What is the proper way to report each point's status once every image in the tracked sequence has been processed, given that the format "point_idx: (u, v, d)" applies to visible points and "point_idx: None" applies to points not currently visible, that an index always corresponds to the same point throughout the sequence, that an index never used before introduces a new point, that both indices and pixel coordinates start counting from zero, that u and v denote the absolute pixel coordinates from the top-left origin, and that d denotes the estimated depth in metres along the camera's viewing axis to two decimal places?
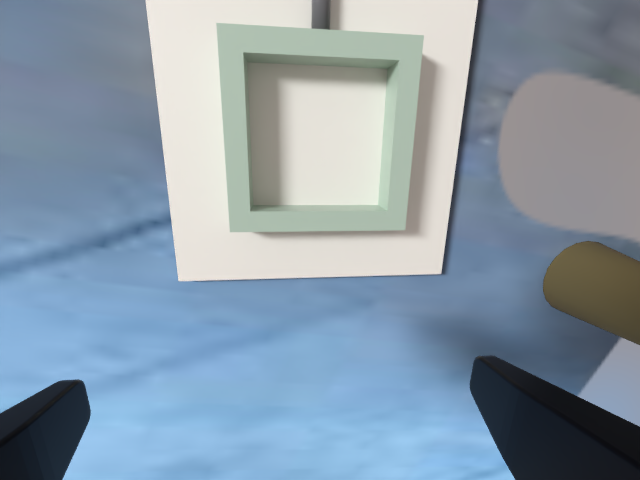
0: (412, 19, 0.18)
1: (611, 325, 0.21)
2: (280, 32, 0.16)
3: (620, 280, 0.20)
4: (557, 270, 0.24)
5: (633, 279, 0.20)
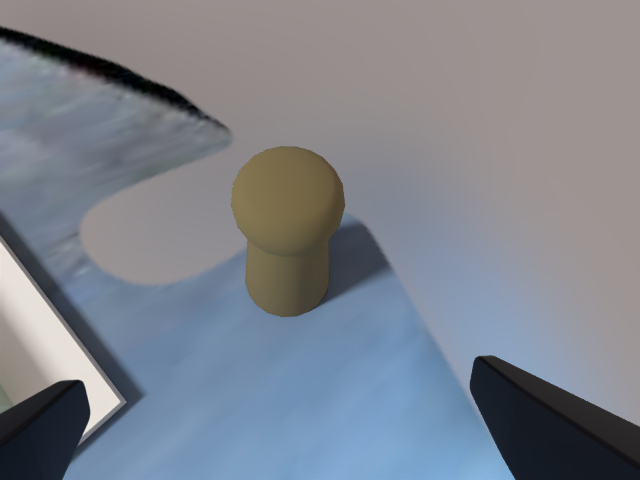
0: None
1: (278, 281, 0.18)
2: None
3: None
4: (248, 289, 0.21)
5: None
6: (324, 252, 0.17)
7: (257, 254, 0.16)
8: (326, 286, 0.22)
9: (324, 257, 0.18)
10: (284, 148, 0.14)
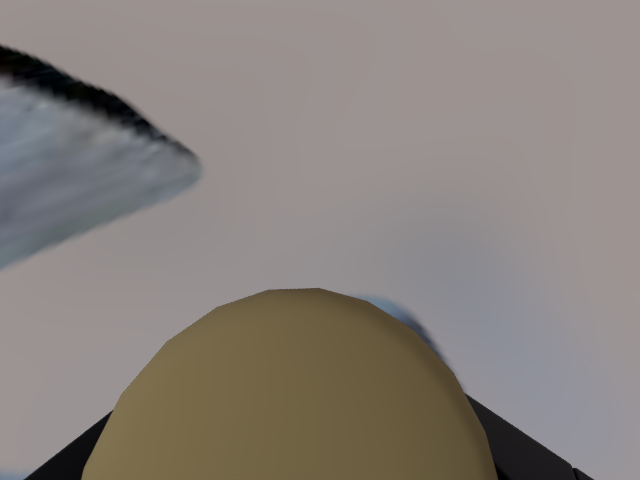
0: None
1: None
2: None
3: None
4: None
5: None
6: None
7: None
8: None
9: None
10: (281, 315, 0.04)
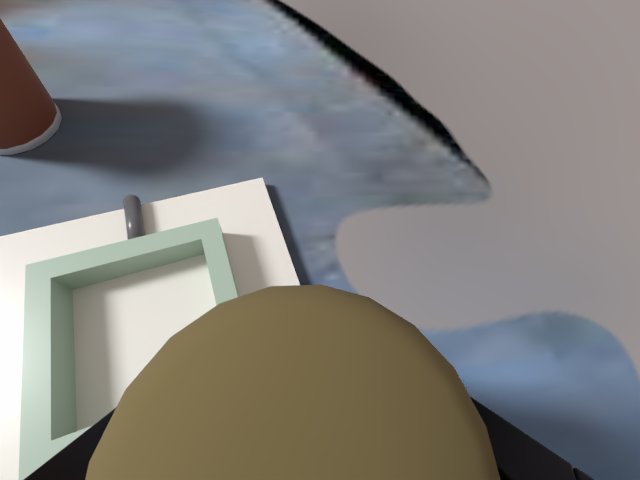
0: (219, 216, 0.22)
1: None
2: (87, 253, 0.18)
3: None
4: None
5: None
6: None
7: None
8: None
9: None
10: (284, 311, 0.04)
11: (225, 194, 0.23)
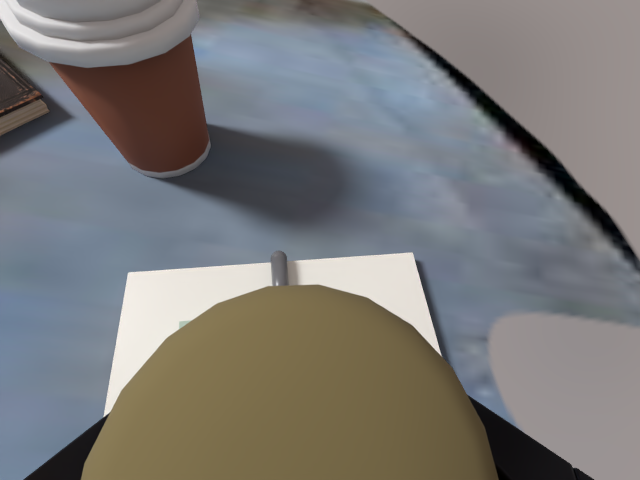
0: (365, 291, 0.20)
1: None
2: None
3: None
4: None
5: None
6: None
7: None
8: None
9: None
10: (281, 311, 0.04)
11: (372, 265, 0.21)
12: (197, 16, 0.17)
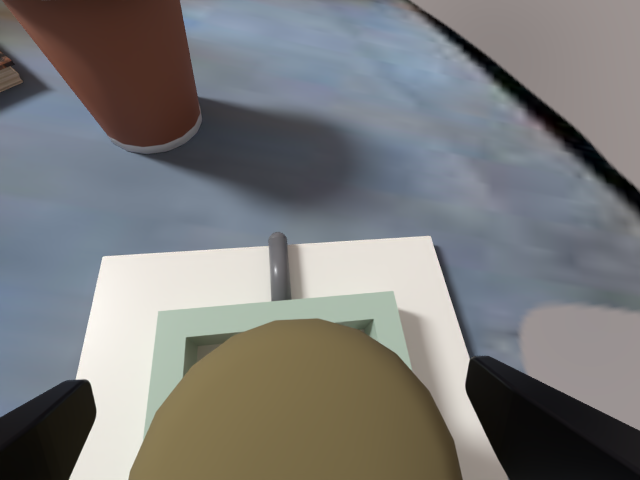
0: (377, 279, 0.17)
1: None
2: (232, 310, 0.14)
3: None
4: None
5: None
6: None
7: None
8: None
9: None
10: (287, 346, 0.05)
11: (385, 250, 0.18)
12: None
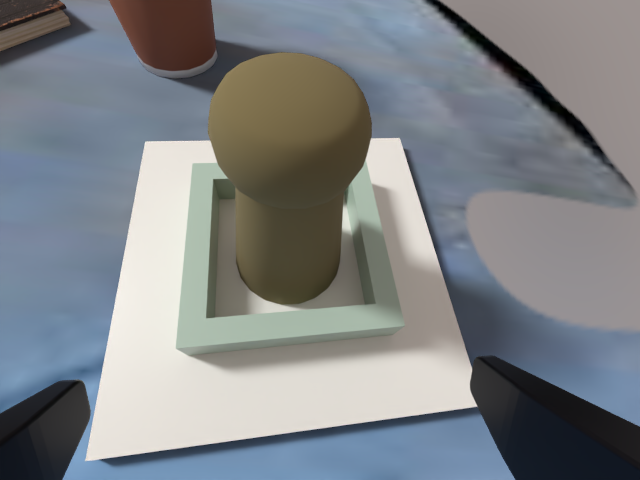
0: None
1: (276, 253, 0.13)
2: None
3: None
4: (239, 269, 0.17)
5: None
6: (338, 213, 0.13)
7: (247, 213, 0.12)
8: (337, 266, 0.17)
9: (337, 221, 0.13)
10: (285, 53, 0.10)
11: None
12: None
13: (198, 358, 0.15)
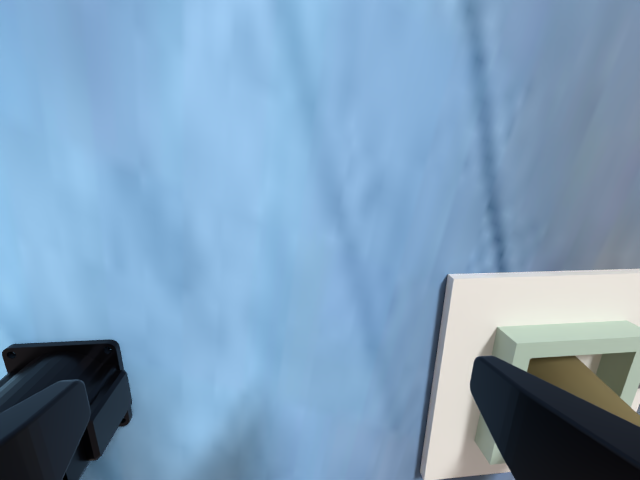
0: None
1: None
2: None
3: (611, 400, 0.20)
4: (549, 360, 0.23)
5: (624, 406, 0.20)
6: None
7: None
8: None
9: None
10: None
11: None
12: None
13: (493, 333, 0.23)
